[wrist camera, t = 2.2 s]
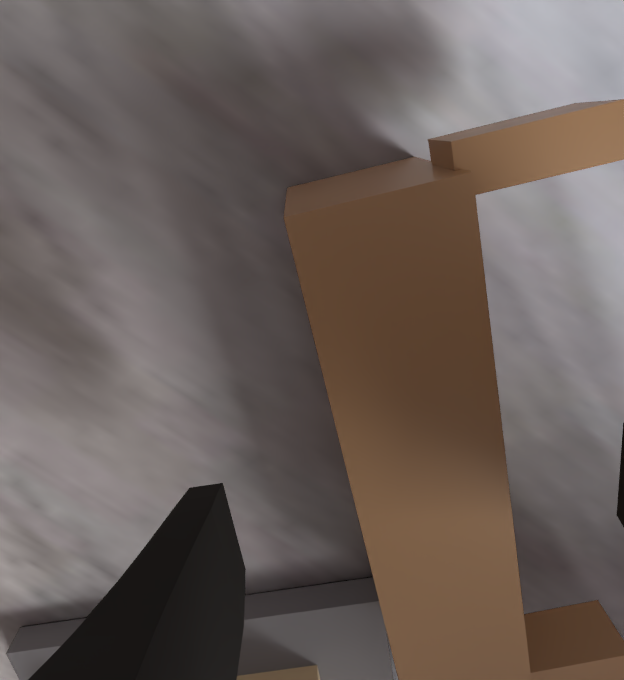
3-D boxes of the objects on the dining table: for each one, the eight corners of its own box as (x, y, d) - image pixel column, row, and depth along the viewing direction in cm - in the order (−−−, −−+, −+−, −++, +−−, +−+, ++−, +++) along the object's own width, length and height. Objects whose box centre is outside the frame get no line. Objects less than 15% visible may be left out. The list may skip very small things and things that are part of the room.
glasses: (523, 107, 11) (645, 97, 7) (558, 559, 15) (646, 702, 11) (282, 166, 11) (276, 188, 7) (385, 593, 15) (414, 744, 12)
